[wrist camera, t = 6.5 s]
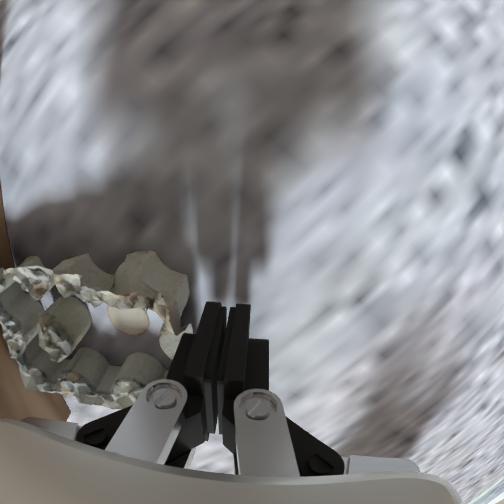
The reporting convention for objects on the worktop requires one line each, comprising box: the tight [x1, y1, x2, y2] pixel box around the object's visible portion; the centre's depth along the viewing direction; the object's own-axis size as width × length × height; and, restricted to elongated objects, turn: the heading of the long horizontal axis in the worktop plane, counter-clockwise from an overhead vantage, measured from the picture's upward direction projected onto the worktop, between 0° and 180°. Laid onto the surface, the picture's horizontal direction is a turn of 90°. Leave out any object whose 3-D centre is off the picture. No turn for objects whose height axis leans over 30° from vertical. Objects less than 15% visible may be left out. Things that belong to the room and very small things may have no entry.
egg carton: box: [0, 250, 193, 409], centre depth 12 cm, size 11×8×4 cm
